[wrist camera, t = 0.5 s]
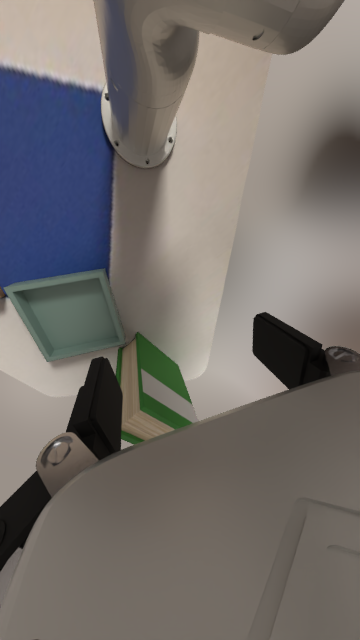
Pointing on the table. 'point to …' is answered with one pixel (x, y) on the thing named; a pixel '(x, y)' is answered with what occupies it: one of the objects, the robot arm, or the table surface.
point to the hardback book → (151, 392)
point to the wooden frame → (1, 293)
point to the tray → (69, 313)
